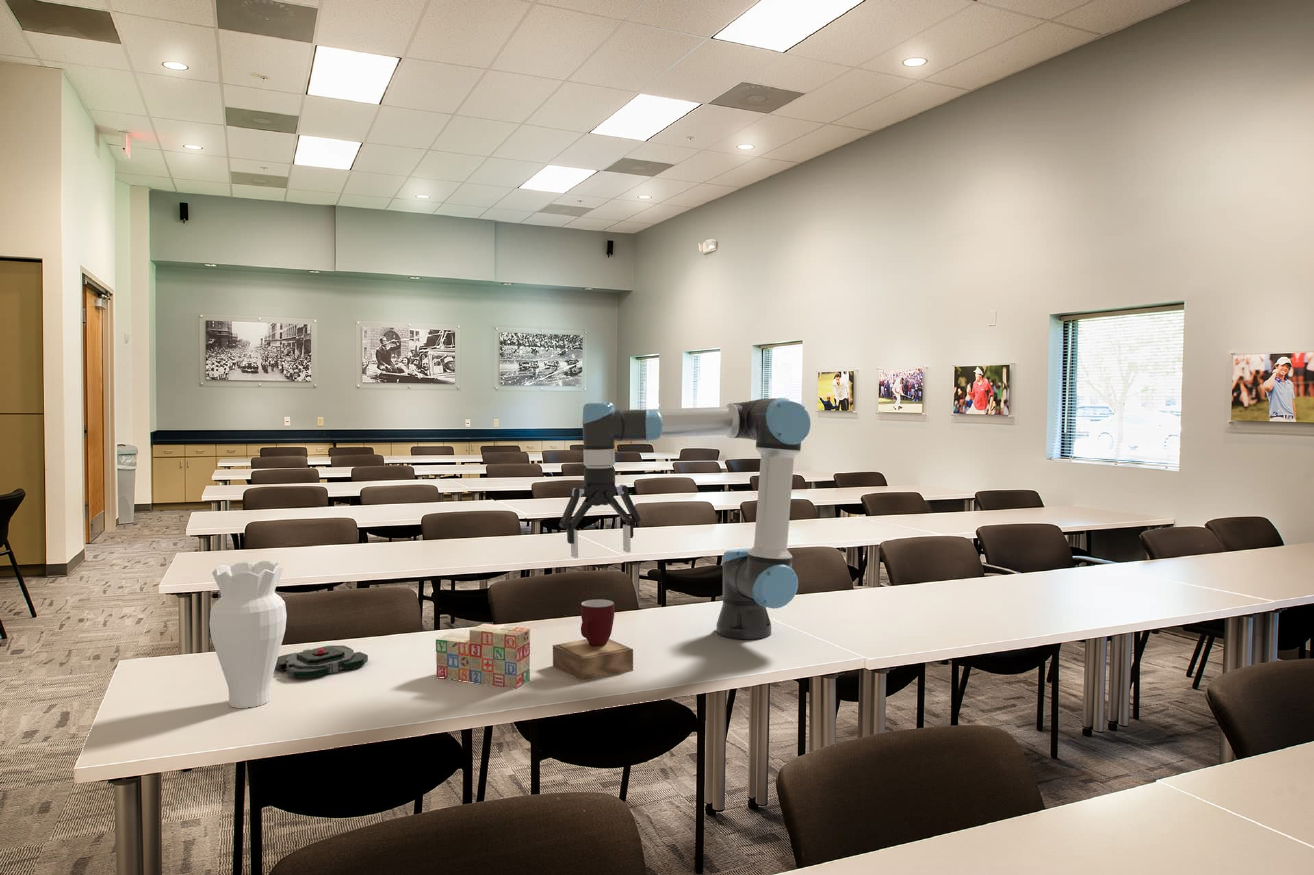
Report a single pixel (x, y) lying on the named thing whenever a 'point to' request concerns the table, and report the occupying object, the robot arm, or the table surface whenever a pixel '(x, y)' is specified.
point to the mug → (597, 621)
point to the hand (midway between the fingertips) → (601, 554)
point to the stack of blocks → (486, 656)
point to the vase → (248, 629)
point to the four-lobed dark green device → (320, 661)
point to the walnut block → (592, 659)
